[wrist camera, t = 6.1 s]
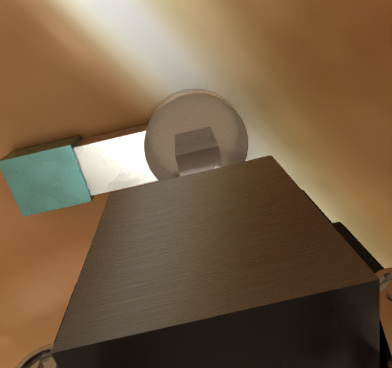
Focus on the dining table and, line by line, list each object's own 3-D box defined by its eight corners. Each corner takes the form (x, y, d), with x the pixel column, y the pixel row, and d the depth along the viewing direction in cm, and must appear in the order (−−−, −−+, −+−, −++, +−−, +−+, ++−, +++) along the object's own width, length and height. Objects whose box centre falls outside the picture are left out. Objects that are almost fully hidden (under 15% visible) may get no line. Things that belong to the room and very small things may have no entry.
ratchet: (232, 79, 24) (254, 93, 17) (248, 170, 27) (271, 212, 20) (4, 132, 24) (-56, 165, 18) (43, 216, 27) (2, 272, 21)
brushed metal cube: (271, 155, 11) (379, 279, 5) (288, 284, 13) (379, 469, 7) (110, 192, 11) (50, 353, 5) (153, 314, 13) (142, 520, 7)
